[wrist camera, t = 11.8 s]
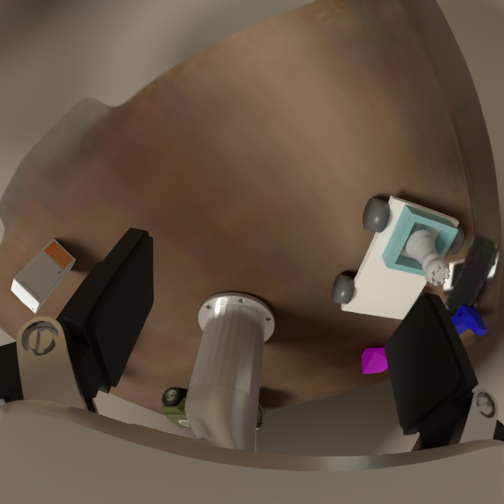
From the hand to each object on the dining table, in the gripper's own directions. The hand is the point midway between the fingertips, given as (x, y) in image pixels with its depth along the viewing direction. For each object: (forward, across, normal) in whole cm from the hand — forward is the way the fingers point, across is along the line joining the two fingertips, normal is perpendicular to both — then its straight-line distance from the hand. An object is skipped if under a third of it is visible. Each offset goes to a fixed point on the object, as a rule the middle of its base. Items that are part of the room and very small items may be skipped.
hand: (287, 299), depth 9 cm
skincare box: (+26, +33, +26) cm, 49 cm away
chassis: (+26, -20, +12) cm, 35 cm away
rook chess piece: (+24, -19, +7) cm, 31 cm away
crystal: (+26, -27, +32) cm, 50 cm away
